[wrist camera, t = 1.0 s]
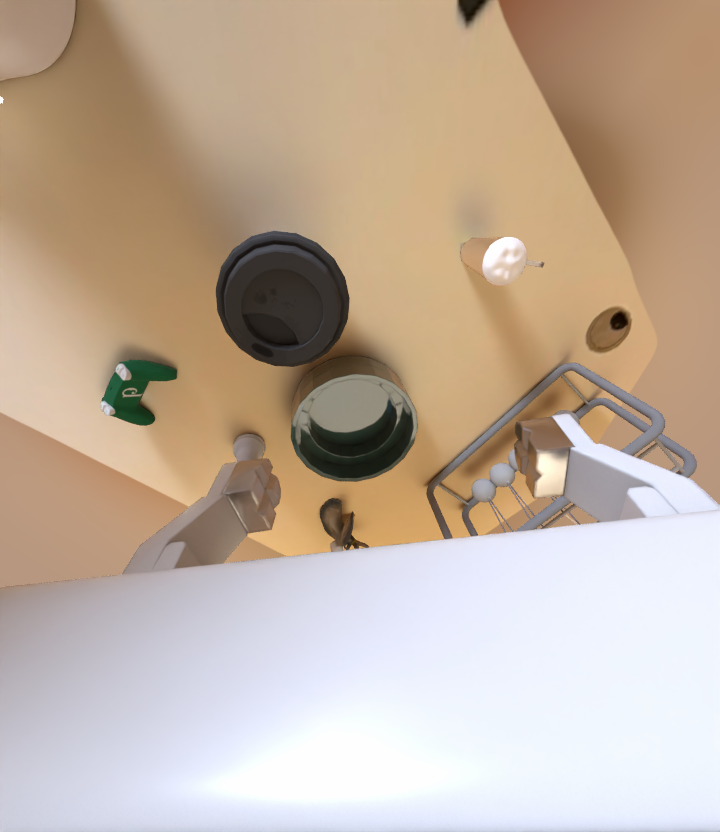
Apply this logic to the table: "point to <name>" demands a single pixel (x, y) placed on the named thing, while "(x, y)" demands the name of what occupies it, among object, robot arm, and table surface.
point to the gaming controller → (133, 390)
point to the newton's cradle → (506, 474)
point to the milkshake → (496, 258)
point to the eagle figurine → (338, 526)
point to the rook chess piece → (248, 447)
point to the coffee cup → (282, 298)
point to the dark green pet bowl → (352, 419)
